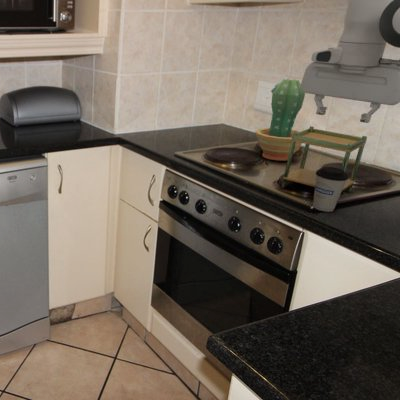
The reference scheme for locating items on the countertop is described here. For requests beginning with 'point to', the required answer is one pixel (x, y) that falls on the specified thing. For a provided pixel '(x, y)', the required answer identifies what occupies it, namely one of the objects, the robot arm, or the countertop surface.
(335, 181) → the coffee cup
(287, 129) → the potted cactus
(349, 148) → the shelf rack
